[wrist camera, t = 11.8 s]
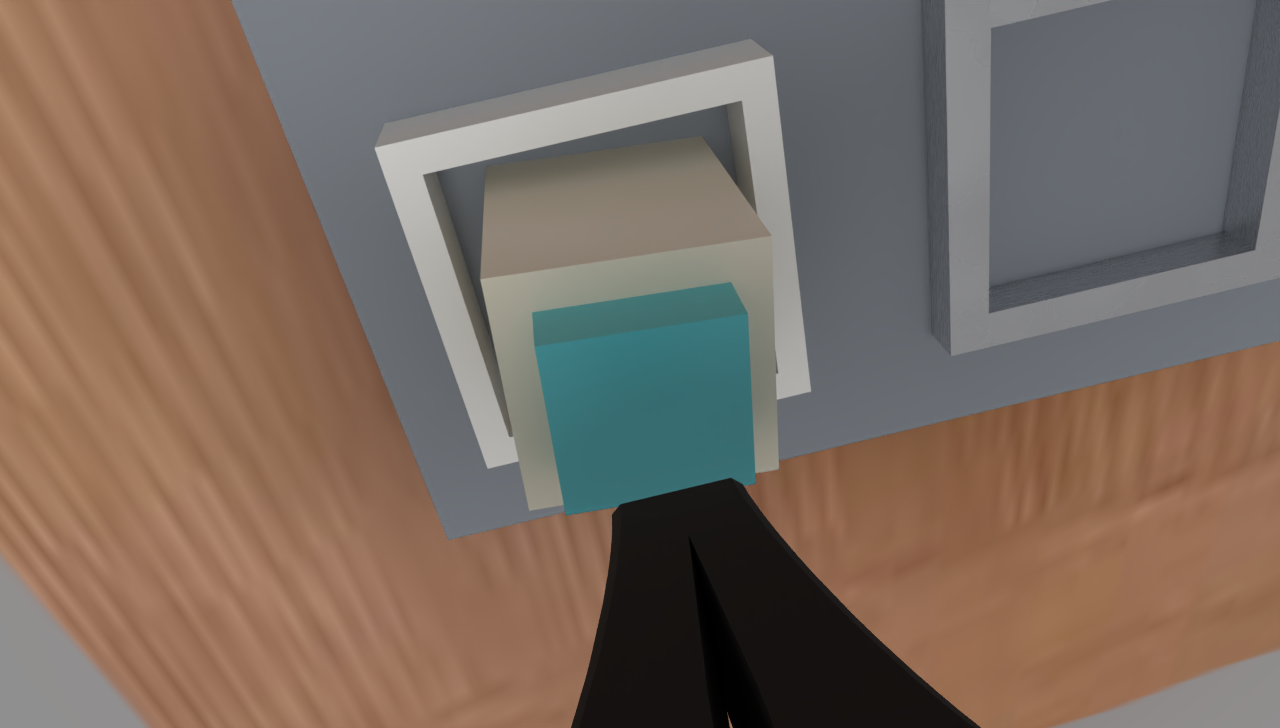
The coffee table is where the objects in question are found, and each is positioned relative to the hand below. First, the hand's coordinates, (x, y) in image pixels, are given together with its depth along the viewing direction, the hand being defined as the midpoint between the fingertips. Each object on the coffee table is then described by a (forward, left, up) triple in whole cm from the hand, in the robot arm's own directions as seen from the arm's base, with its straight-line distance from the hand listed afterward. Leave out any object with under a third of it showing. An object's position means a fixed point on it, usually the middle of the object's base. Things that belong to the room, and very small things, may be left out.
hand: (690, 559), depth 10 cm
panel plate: (-5, 0, -10) cm, 11 cm away
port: (0, 0, -10) cm, 10 cm away
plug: (0, 0, -9) cm, 9 cm away
